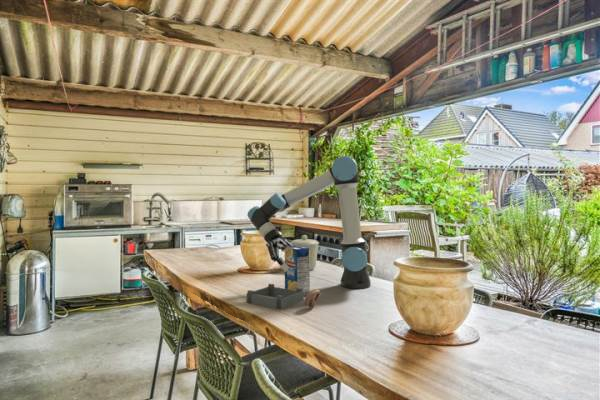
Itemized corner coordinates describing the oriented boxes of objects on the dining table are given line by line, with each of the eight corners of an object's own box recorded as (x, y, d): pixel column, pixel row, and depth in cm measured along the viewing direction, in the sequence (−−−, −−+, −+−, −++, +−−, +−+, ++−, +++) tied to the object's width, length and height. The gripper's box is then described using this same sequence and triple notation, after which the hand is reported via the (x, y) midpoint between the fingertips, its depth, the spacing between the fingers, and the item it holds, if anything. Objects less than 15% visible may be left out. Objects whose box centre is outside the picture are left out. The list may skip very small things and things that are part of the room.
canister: (319, 272, 243) (319, 236, 242) (289, 272, 243) (289, 236, 242) (318, 266, 261) (318, 233, 260) (290, 266, 261) (290, 233, 261)
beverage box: (297, 298, 185) (296, 249, 184) (284, 292, 194) (284, 246, 193) (309, 295, 188) (309, 248, 188) (297, 291, 198) (296, 245, 197)
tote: (303, 300, 180) (303, 288, 180) (282, 309, 167) (282, 296, 167) (269, 294, 191) (269, 283, 191) (246, 302, 177) (246, 290, 177)
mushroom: (307, 311, 163) (307, 291, 163) (300, 308, 169) (300, 288, 169) (323, 309, 167) (323, 289, 167) (316, 305, 172) (316, 286, 172)
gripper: (280, 236, 211) (305, 268, 203) (248, 241, 190) (274, 277, 182) (289, 226, 208) (314, 258, 200) (257, 230, 187) (284, 266, 179)
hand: (295, 267), depth 191 cm, fingers open, 13 cm apart
